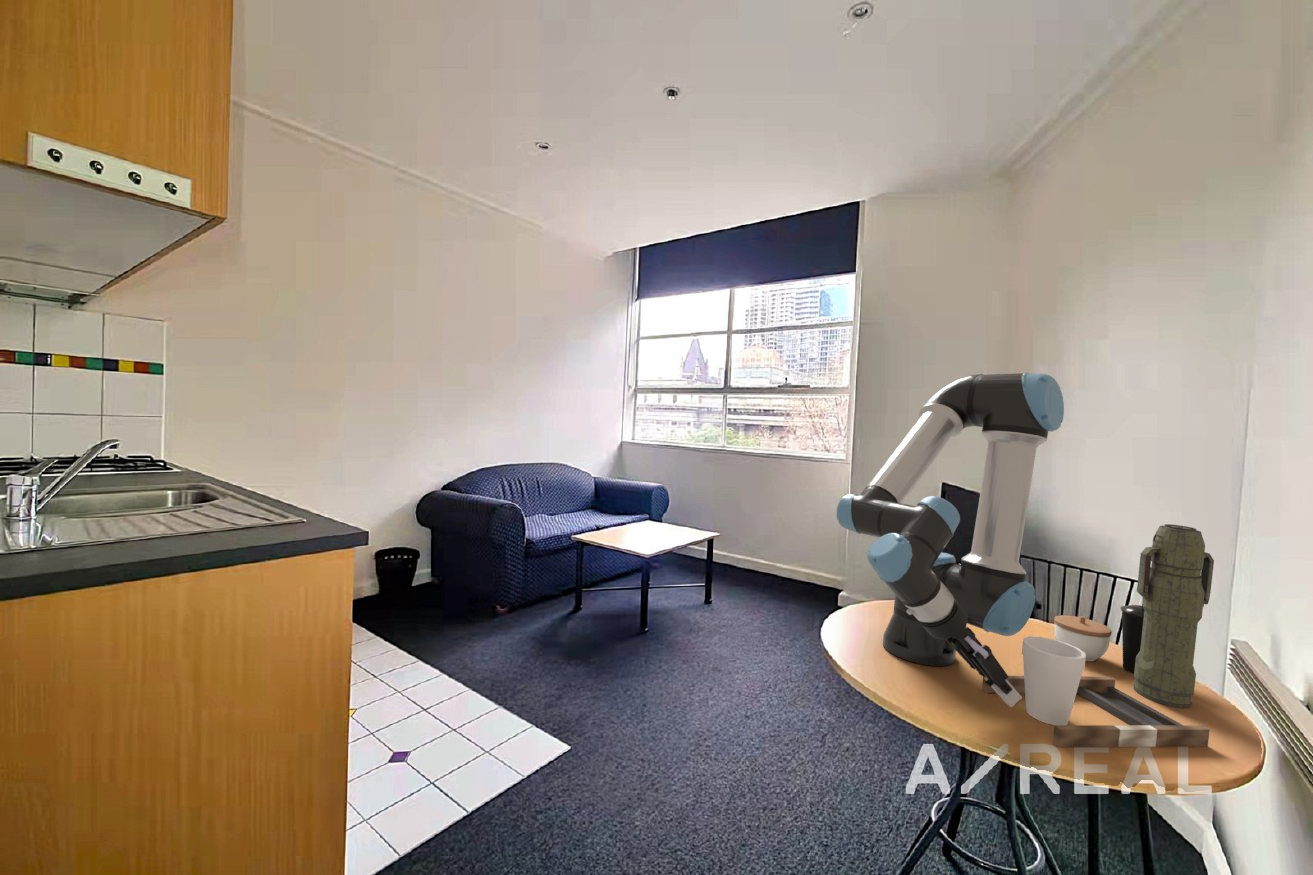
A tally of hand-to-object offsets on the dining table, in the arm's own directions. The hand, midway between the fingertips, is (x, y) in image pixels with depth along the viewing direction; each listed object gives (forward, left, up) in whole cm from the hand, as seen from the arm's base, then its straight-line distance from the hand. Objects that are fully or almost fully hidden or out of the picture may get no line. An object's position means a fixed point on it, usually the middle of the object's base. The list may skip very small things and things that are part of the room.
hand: (1013, 700), depth 99 cm
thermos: (+34, +20, -3) cm, 40 cm away
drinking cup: (+36, +32, -3) cm, 49 cm away
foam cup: (+7, +3, -3) cm, 8 cm away
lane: (+14, +5, -3) cm, 15 cm away
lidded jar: (+27, +37, -3) cm, 46 cm away
